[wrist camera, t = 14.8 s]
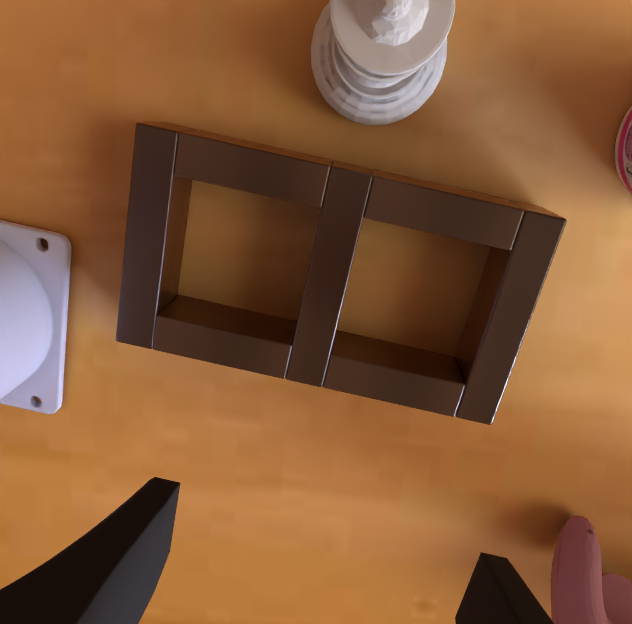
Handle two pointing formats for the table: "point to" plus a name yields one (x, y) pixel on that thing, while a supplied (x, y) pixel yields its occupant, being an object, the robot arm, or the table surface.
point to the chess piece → (380, 56)
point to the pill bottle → (625, 151)
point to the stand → (328, 272)
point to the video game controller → (586, 580)
